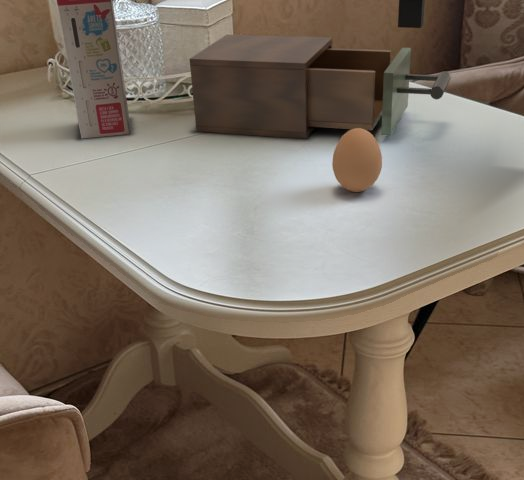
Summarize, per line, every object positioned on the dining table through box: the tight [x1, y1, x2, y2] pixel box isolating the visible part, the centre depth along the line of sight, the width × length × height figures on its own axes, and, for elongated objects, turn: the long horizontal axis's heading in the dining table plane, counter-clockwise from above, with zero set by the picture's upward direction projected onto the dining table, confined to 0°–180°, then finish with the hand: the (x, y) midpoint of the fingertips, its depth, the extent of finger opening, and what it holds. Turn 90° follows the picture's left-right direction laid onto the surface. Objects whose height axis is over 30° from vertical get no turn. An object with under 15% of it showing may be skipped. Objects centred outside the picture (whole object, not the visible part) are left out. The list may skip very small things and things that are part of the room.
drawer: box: [307, 47, 452, 137], centre depth 104 cm, size 20×12×8 cm, turn 71°
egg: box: [331, 128, 383, 193], centre depth 87 cm, size 5×5×7 cm
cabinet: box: [189, 34, 333, 140], centre depth 108 cm, size 16×14×10 cm
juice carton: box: [56, 0, 131, 139], centre depth 105 cm, size 7×7×22 cm
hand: (410, 26), depth 93 cm, fingers closed
